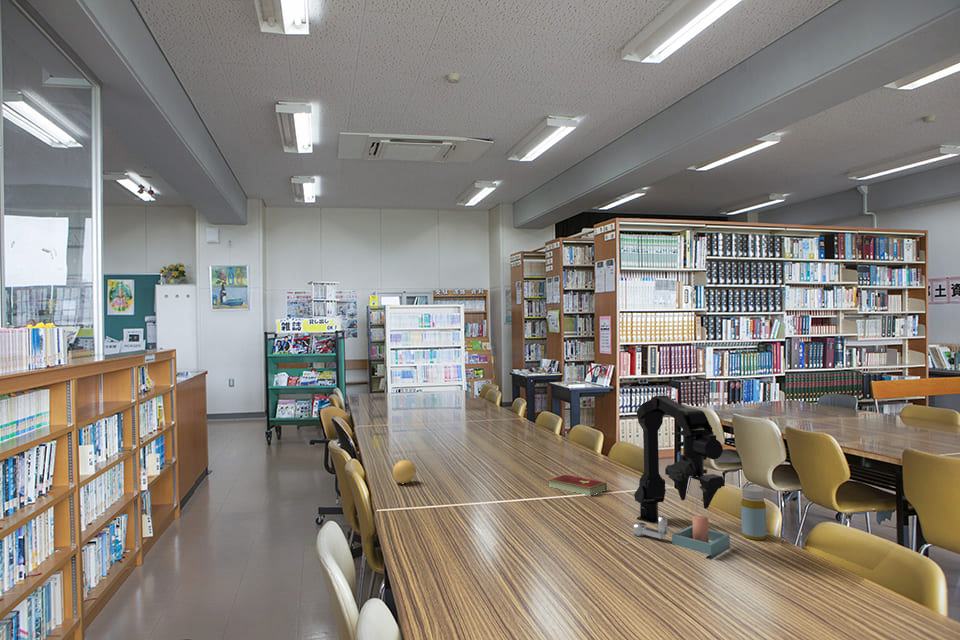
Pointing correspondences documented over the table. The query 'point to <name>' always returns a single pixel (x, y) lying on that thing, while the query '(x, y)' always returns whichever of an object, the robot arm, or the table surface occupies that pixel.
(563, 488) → the hardcover book
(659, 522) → the crank
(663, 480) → the robot arm
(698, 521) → the pin
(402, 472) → the stress ball
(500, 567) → the table surface
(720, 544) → the tray
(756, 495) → the bottle
